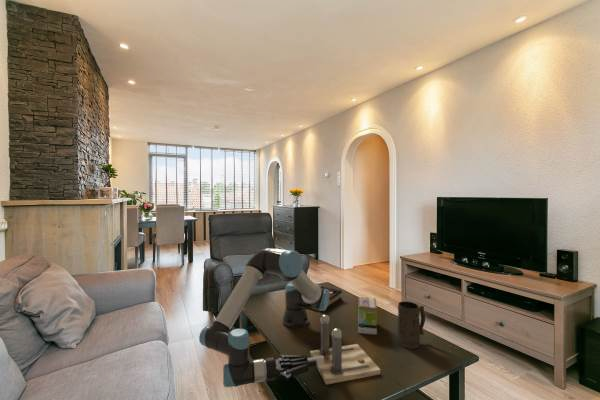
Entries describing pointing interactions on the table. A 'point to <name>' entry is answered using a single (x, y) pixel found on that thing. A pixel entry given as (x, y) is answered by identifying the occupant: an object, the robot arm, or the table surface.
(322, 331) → the grey lever
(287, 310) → the robot arm
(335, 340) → the grey rounded post
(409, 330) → the beer stein
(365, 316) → the tea box
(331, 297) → the decorative book
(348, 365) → the switch panel
